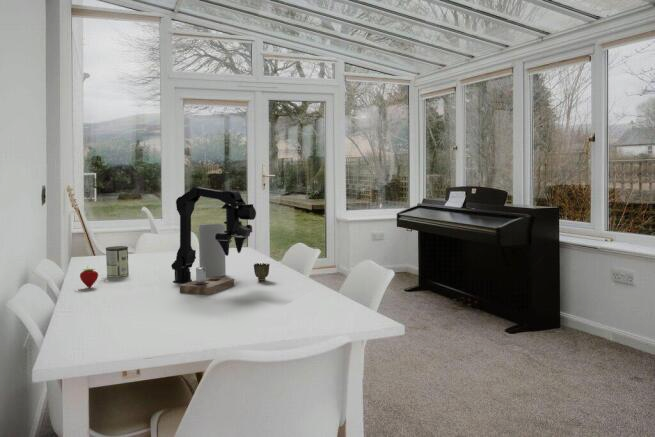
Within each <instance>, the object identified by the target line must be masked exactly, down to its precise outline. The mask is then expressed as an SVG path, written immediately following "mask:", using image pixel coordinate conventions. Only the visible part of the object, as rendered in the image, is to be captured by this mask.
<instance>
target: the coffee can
mask: <svg viewBox="0 0 655 437" xmlns="http://www.w3.org/2000/svg"><path fill="white" fill-rule="evenodd" d="M128 248H129V247H128V246H125V245H124V246H123V245H117V246H107V247H105V258H106V260H105V261H106V277H107V278H123V277H128V276H129V249H128Z"/></svg>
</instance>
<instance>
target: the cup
mask: <svg viewBox="0 0 655 437" xmlns="http://www.w3.org/2000/svg"><path fill="white" fill-rule="evenodd" d="M253 272H254V276H255V277H256V278H257V281H258V282H266V278H267V277H268V276H269V273H270V263H266V262H265V263H264V262H263V263H261V262H260V263H258V262H256V263H254V264H253Z"/></svg>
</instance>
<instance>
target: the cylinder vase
mask: <svg viewBox="0 0 655 437" xmlns="http://www.w3.org/2000/svg"><path fill="white" fill-rule="evenodd" d="M224 231H226V224H224V223H221V224H220V223H207V224H199V225H198V258H199V259H198V260H199V263H198V264H199V267H205V268H206V277H217V278H223V277H224V276H226V274H227V272H226V271H227V270H226V255H225V253H224V251H223V249H222V247H221V245H220V243H219V242H218V241H217V240H215V235H216V234H217V233H224Z"/></svg>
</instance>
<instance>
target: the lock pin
mask: <svg viewBox="0 0 655 437" xmlns="http://www.w3.org/2000/svg"><path fill="white" fill-rule="evenodd" d="M195 280H196V285H201V286H204V285H206V268H205V267H200V266H199V267H196V268H195Z"/></svg>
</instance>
